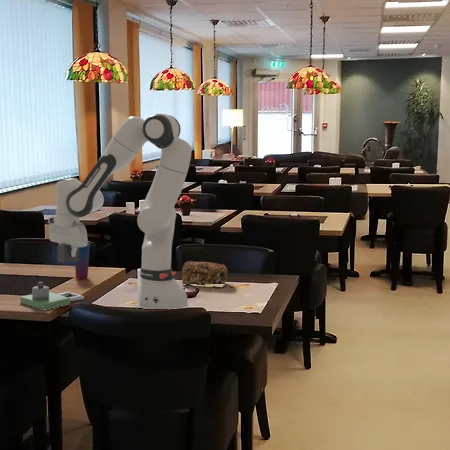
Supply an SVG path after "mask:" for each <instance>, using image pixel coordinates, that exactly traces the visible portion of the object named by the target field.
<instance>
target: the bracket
mask: <svg viewBox="0 0 450 450" xmlns="http://www.w3.org/2000/svg"><path fill="white" fill-rule="evenodd" d="M57 294H58V295H61V296H68V298H70V301H71V302H76V301H81V300H84V298H85V297H84V295H82V294H77V293H73V292H72V291H65V292H61V293H57ZM69 295H73V296H74V297H73V296H69ZM71 302H70V303H71Z"/></svg>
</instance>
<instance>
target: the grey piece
mask: <svg viewBox="0 0 450 450" xmlns="http://www.w3.org/2000/svg"><path fill="white" fill-rule="evenodd" d="M71 250H72V248H71V245H66V244H59V243H58V245H57V262H58V263H62V264H67V263H71V262H72V263H73V262H75V261H79V247H78V249H77V251H76V256H75V257H71V256H70V252H71Z"/></svg>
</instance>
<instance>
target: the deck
mask: <svg viewBox="0 0 450 450" xmlns="http://www.w3.org/2000/svg"><path fill="white" fill-rule="evenodd" d="M31 291H32V292H31V294H27V295H26V294H25V295H21V296H20V304H22V305H25V304H26V305H25V306H28V305H29V306H28V307H31V306H32V308H33V307H35V308H34V309H36V308H39V309H42V310H44V309H49V308H53V307H57V306H61V305H63V306H62V307H65V306H70V305H71V302H70V298H69V296H68V297H65V296H61V295H58V294H59V293H54V292H51V291H50V286H47V285H44V282H43V281H38V282H37V286H33V287H32V290H31ZM57 308H58V307H57ZM39 309H38V310H39ZM53 309H54V308H53ZM42 310H41V311H42ZM49 310H50V309H49ZM44 311H45V310H44Z"/></svg>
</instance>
